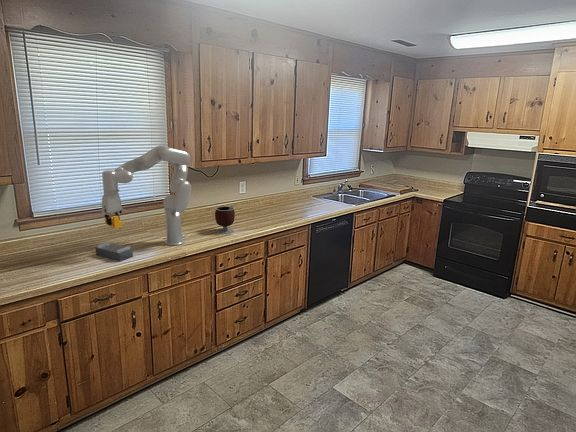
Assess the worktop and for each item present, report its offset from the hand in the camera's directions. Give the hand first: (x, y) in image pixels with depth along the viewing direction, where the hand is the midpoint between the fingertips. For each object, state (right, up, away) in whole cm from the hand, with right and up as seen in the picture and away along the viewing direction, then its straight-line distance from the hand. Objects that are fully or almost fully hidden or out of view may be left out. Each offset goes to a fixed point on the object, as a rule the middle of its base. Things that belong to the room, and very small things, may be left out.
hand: (113, 223), depth 224 cm
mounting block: (-1, -19, +5) cm, 20 cm away
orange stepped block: (0, -1, +1) cm, 2 cm away
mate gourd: (+56, -7, +57) cm, 80 cm away
